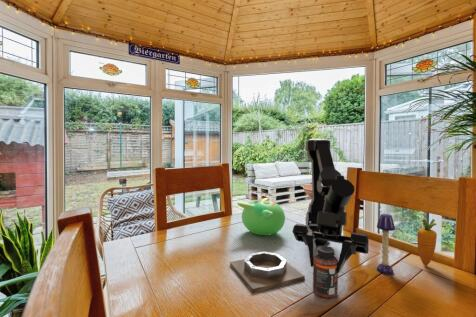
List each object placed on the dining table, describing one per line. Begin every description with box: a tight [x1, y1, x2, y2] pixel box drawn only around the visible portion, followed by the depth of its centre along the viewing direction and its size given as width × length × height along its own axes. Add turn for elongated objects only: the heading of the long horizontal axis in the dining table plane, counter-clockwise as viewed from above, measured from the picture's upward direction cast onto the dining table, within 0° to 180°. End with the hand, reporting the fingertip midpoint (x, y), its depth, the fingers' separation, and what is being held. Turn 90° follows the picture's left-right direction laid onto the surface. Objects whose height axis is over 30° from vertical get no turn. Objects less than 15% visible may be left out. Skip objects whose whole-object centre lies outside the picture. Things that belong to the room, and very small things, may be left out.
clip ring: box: [244, 251, 288, 280], centre depth 77 cm, size 12×12×2 cm
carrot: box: [416, 217, 437, 267], centre depth 80 cm, size 5×5×15 cm
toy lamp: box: [376, 213, 396, 275], centre depth 77 cm, size 5×5×17 cm
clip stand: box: [229, 258, 306, 294], centre depth 77 cm, size 16×16×1 cm
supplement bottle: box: [312, 245, 339, 299], centre depth 66 cm, size 6×6×11 cm
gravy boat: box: [237, 197, 286, 236], centre depth 108 cm, size 18×17×15 cm
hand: (324, 269), depth 65 cm, fingers closed on supplement bottle, 6 cm apart
